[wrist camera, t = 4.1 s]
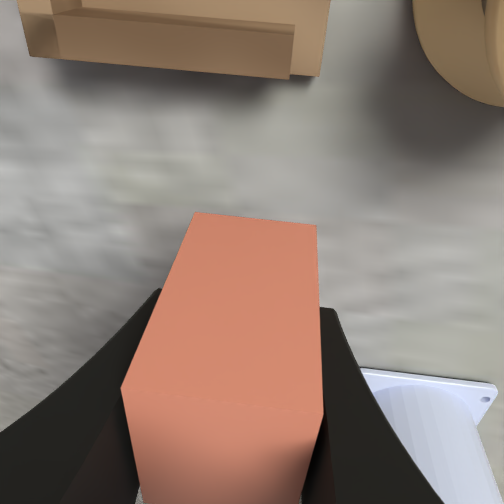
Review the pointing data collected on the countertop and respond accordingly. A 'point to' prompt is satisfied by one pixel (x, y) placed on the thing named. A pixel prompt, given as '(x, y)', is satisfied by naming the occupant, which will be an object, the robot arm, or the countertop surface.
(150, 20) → the notch board
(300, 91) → the countertop surface
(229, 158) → the countertop surface
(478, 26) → the bobbin
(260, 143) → the countertop surface
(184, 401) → the pink rectangular block
